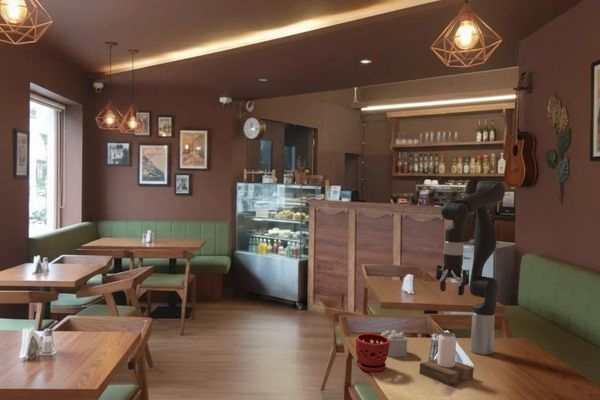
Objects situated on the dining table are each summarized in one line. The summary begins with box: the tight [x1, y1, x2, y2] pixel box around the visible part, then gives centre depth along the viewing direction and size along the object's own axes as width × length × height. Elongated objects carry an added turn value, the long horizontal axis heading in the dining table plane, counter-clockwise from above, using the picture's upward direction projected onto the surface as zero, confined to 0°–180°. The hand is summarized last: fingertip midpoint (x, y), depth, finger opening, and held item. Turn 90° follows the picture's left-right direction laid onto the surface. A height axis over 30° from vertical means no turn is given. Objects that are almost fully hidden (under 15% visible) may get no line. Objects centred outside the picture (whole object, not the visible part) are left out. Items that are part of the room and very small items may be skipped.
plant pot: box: [355, 332, 390, 373], centre depth 208 cm, size 13×13×12 cm
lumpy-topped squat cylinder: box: [380, 329, 408, 358], centre depth 230 cm, size 10×13×9 cm
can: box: [437, 331, 457, 368], centre depth 203 cm, size 6×6×12 cm
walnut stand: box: [419, 358, 474, 386], centre depth 203 cm, size 14×14×4 cm
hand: (451, 293), depth 213 cm, fingers open, 8 cm apart
